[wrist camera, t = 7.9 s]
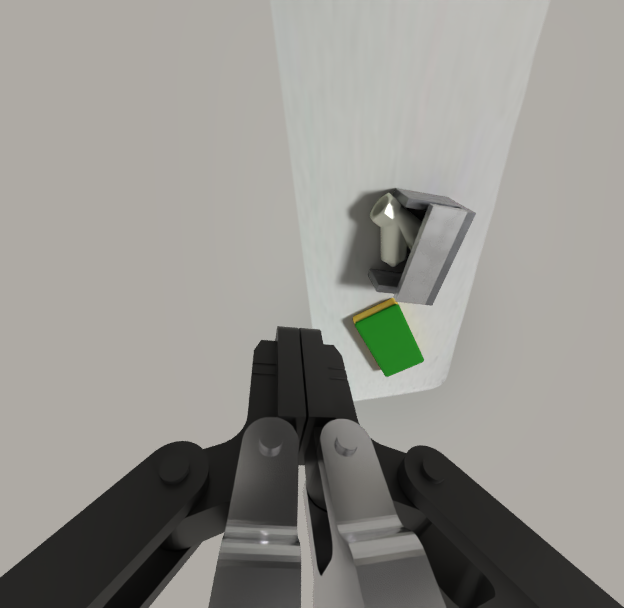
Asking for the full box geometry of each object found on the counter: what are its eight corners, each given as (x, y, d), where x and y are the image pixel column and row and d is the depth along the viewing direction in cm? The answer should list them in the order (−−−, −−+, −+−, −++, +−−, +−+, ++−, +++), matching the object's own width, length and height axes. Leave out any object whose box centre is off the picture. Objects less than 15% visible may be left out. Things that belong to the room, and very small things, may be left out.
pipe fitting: (392, 262, 43) (429, 225, 40) (400, 277, 40) (440, 238, 36) (350, 232, 40) (386, 189, 36) (354, 245, 37) (394, 200, 33)
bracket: (395, 188, 36) (415, 203, 31) (447, 197, 38) (475, 213, 32) (368, 275, 43) (380, 299, 37) (413, 280, 44) (432, 305, 39)
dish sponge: (393, 295, 46) (398, 304, 44) (419, 351, 53) (425, 361, 51) (351, 315, 47) (354, 325, 45) (382, 367, 54) (386, 378, 52)
